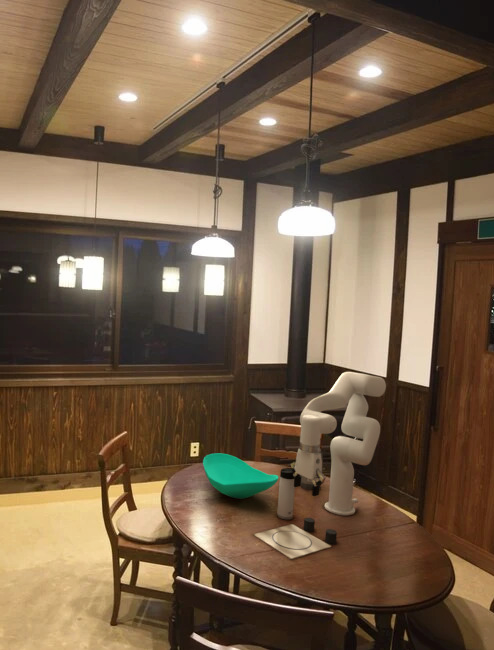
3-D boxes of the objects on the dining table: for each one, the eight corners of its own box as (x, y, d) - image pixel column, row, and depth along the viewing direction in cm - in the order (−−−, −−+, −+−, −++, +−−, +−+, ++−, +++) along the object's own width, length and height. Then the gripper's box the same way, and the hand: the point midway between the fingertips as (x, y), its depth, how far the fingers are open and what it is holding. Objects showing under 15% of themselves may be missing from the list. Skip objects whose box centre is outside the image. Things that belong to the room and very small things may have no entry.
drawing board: (292, 524, 213) (292, 523, 213) (331, 547, 196) (331, 545, 196) (253, 535, 202) (253, 533, 202) (291, 559, 185) (291, 558, 185)
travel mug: (293, 520, 216) (297, 472, 215) (276, 518, 218) (280, 470, 216) (293, 514, 222) (296, 467, 221) (277, 512, 224) (280, 465, 223)
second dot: (330, 538, 203) (330, 528, 202) (338, 543, 199) (339, 532, 199) (322, 540, 201) (323, 530, 200) (330, 545, 197) (331, 534, 197)
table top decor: (292, 505, 232) (294, 475, 231) (245, 518, 216) (247, 486, 215) (231, 476, 264) (233, 449, 263) (186, 485, 248) (188, 457, 247)
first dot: (308, 526, 212) (309, 516, 212) (316, 530, 209) (316, 520, 208) (301, 528, 210) (302, 518, 210) (308, 532, 206) (309, 522, 206)
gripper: (333, 453, 202) (329, 497, 203) (300, 440, 216) (297, 482, 217) (319, 455, 198) (315, 500, 199) (286, 442, 212) (283, 484, 213)
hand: (306, 491), depth 208 cm, fingers open, 9 cm apart
